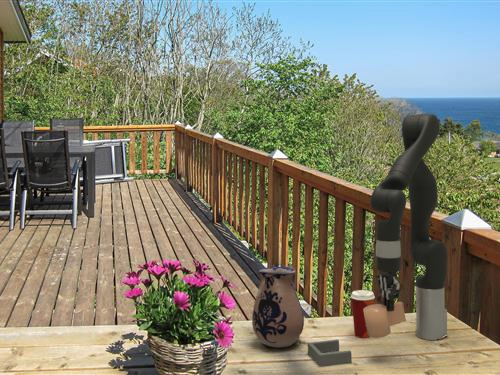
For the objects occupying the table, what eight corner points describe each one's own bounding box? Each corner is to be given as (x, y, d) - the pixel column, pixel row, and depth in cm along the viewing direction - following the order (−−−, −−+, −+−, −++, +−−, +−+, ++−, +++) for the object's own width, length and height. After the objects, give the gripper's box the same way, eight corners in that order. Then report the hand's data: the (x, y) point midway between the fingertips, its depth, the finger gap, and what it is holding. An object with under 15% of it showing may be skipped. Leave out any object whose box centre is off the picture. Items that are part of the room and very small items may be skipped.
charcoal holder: (337, 349, 191) (337, 339, 191) (351, 362, 180) (351, 351, 180) (307, 353, 189) (307, 342, 189) (320, 366, 178) (319, 355, 178)
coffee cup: (375, 339, 199) (375, 296, 198) (351, 338, 201) (350, 295, 200) (375, 331, 208) (374, 289, 206) (351, 330, 209) (350, 289, 208)
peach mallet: (400, 321, 187) (396, 297, 186) (411, 328, 180) (406, 303, 179) (364, 332, 184) (359, 308, 183) (373, 339, 177) (369, 314, 176)
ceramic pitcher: (244, 349, 194) (242, 275, 192) (267, 329, 214) (265, 261, 212) (295, 355, 188) (293, 278, 186) (314, 333, 207) (312, 263, 205)
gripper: (410, 257, 174) (410, 315, 176) (389, 249, 187) (389, 303, 189) (387, 259, 173) (387, 317, 174) (367, 251, 186) (368, 305, 187)
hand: (388, 309), depth 181 cm, fingers closed
